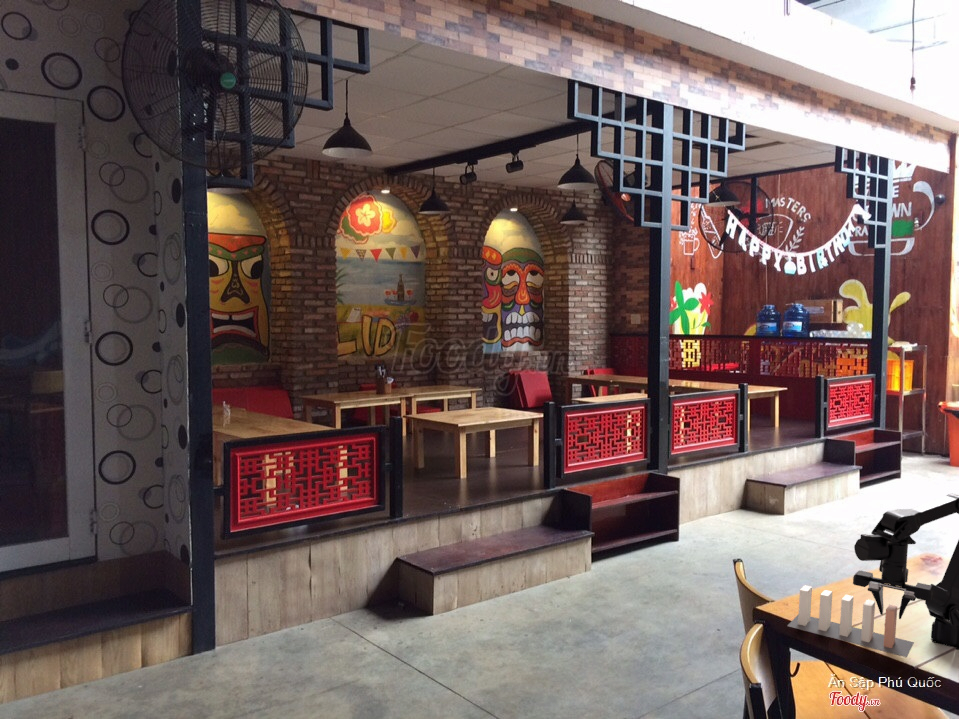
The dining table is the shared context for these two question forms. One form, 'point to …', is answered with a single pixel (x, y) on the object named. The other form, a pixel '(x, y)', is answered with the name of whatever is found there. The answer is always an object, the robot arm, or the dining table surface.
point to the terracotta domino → (890, 626)
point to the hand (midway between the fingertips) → (890, 616)
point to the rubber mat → (855, 636)
